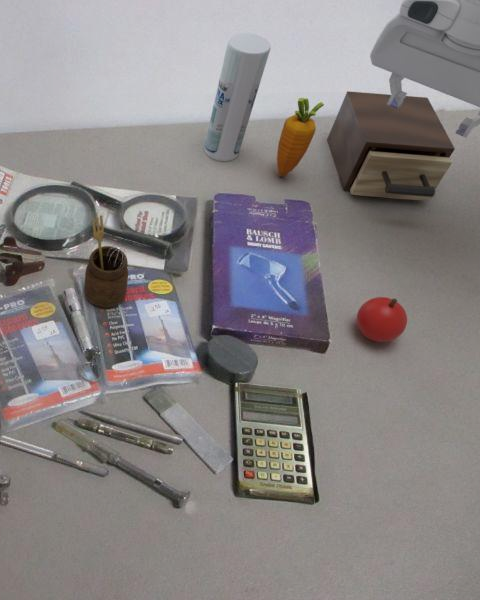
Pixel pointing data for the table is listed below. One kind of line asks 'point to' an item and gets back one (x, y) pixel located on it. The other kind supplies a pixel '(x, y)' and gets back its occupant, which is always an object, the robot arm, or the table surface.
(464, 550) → the table surface
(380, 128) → the cabinet
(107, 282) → the utensil holder
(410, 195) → the drawer
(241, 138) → the spray can
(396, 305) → the apple
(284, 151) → the carrot
